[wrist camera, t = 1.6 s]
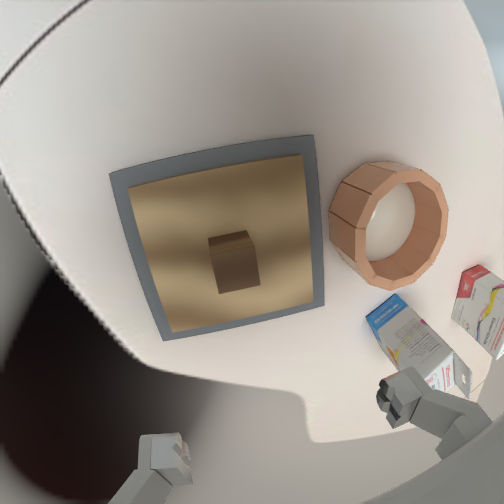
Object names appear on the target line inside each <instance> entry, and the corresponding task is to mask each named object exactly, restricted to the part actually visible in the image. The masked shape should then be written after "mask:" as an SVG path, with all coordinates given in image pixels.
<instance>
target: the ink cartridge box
mask: <svg viewBox="0 0 504 504" xmlns="http://www.w3.org/2000/svg"><path fill="white" fill-rule="evenodd" d="M452 318H453V319H454V320H455V321H456V322H457V323H458V324H459V325H461V326H462V327H463V328H464V329H465V330H466V331H467V332H468V333H469V334H470V335H471V336H472V337H473V338H474V339H475V340H476V341H477V342H478V343H479V344H480V345H481V346H482V347H483V348H484V349H485V350H486V351H487V352H488V353H489V354H490V355H491V356H492V357H493V358H494V359H495V360H497V359H498V358H499V357H501V356H502V355H503V354H504V281H503V280H502V279H500V278H499V277H497V276H496V275H494V274H493V273H491V272H490V271H488V270H487V269H485V268H484V267H482V266H481V265H478V266H476V267H474V268H471V269H469V270H467V271H464V272H463V273H462V277H461V282H460V286H459V290H458V294H457V298H456V302H455V306H454V309H453V313H452Z"/></svg>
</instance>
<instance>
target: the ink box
mask: <svg viewBox="0 0 504 504" xmlns="http://www.w3.org/2000/svg"><path fill="white" fill-rule="evenodd" d="M366 319H367V320H368V322H369V324H370V326H371V328H372V330H373V332H374V334H375V336H376V338H377V340H378V342H379V344H380V346H381V348H382V350H383V352H384V353H385V354H386V355H387V357H388V358H389V359H390V361H391V362H392V363H393V365H394V366H395V367H396V369H397V370H398V371H402V370H404V369H406V368H408V367H411V366H412V367H414V368H415V369H416V370H417V372H418V373H419V374H420V375H421V376H422V378H423V379H424V380H425V381H426V382H427V384H428V385H429V386H430V387H431V388H432V390H435V389H437V390H440V391H442V392H445V393H446V392H447V391H448V390H449V389H450V388H452V387H453V386H454V385H455V384H456V385H457V386H458V387H459V389H460V390H461V391H462V392H463V393H464V395H465V396H466V397H467V398H468V399H470V394H471V385H472V372H471V370H470V369H469V368H468V367H467V366H466V365H465V363H464V362H463V361H462V360H461V359H460V358H459V356H458V355H457V354H456V353H455V351H454V350H453V349H452V348H451V347H450V346H449V345H448V344H447V343H446V342H445V341H444V340H443V339H442V338H441V337H440V336H439V335H438V334H437V333H436V332H435V331H434V330H433V329H432V328H431V327H430V326H429V325H428V324H427V323H426V322H425V321H424V320H423V319H422V318H421V317H420V316H419V315H418V314H417V313H416V312H415V311H414V310H413V309H411V308H410V307H409V306H408V305H407V304H406V303H405V302H404V301H403V300H402V299H401V298H400V297H399V296H398V295H396V294H394V295H393V296H392V297H391V298H390V299H388V300H387V301H386V302H385V303H383V304H382V305H381V306H380V307H378V308H377V309H376V310H375V311H373V312H372V313H371V314H370V315H368V316H367V317H366ZM462 373H463V374H464V376H465V381H466V383H465V384H464V383H463V381H462Z"/></svg>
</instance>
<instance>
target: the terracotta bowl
mask: <svg viewBox="0 0 504 504" xmlns="http://www.w3.org/2000/svg"><path fill="white" fill-rule="evenodd" d="M342 182H343V183H340V186H339V188H338V190H337V193H336V195H335V197H334V200H333V202H332V204H331V206H330V209H329V210H330V211H329V227H330V240H331V242H332V244H333V245H334V247H335V248H336V250H337V251H338V253H339V254H340V256H341V257H342V259H343V260H344V261H345V262H346V263H347V264H348V265H349V266H350V267H351V268H352V269H353V270H355V271H356V272H357V273H358V274H359V275H360V276H361V277H362V278H363V279H364V280H365V281H366V282H367V283H368V284H370V285H373V286H376V287H379V288H383V289H386V290H389V291H390V290H394V289H397V288H400V287H403V286H406V285H409V284H412V283H413V282H415V281H416V280H417V279H418V278H419V277H420V276H421V275H422V274H423V273H424V272H425V271H426V270H427V269H428V268H429V267H430V266H431V265H432V264H433V263H434V261H435V259H436V257H437V255H438V253H439V251H440V249H441V247H442V245H443V243H444V240H445V237H446V232H447V222H448V211H449V210H448V205H447V202H446V199H445V196H444V193H443V190H442V187H441V185H440V183H438V182H437V181H436V180H435V179H433V178H432V177H431V176H429V175H428V174H427V173H426V172H424V171H423V170H421V169H417V168H413V167H410V166H406V165H402V164H398V163H393V162H389V161H383V162H372V163H364V164H362V165H361V166H360V167H359V168H357V169H356V170H355V171H354V172H352V173H351V174H350V175H349V176H348V177H346V178H345V179H344V180H343V181H342Z"/></svg>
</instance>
